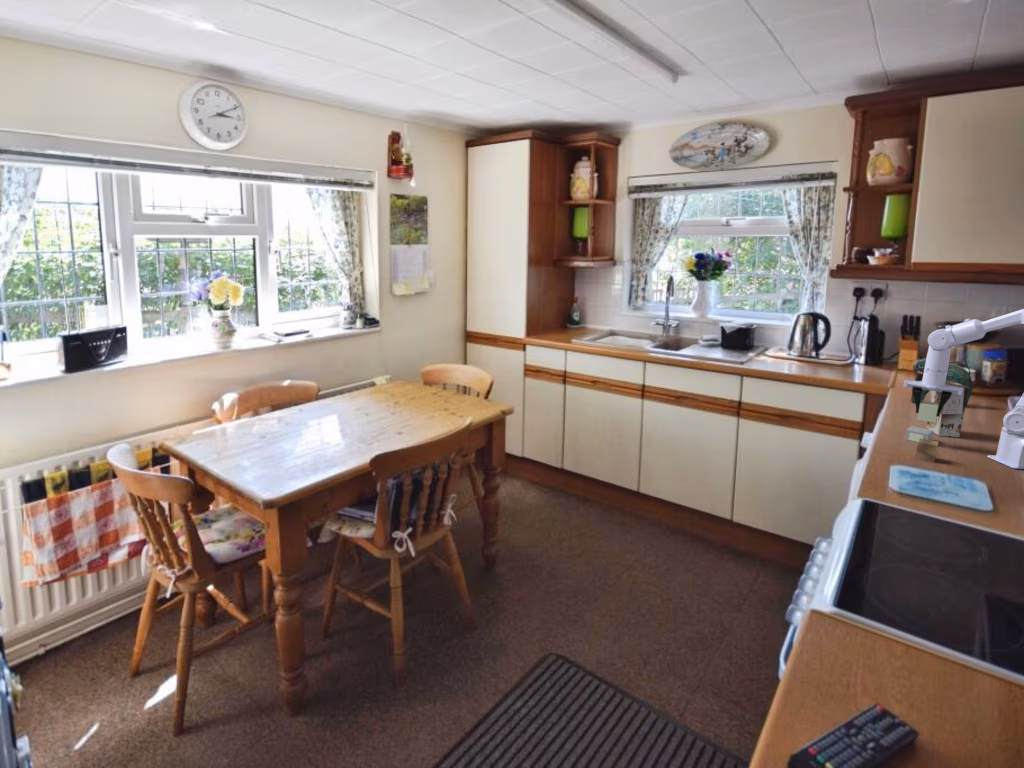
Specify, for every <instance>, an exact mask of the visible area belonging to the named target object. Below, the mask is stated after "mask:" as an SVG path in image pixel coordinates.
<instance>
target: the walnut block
mask: <svg viewBox="0 0 1024 768" xmlns="http://www.w3.org/2000/svg"><path fill="white" fill-rule="evenodd" d="M938 447H939V441H936V440H926V439H921V438H920V439H919V441H918V443H917V447H916V453H915V460H918V459H919V460H918V461H923V460H924V462H928V461H929V462H928V463H935V461H936V457H937V453H938Z"/></svg>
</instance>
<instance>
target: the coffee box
mask: <svg viewBox="0 0 1024 768" xmlns="http://www.w3.org/2000/svg"><path fill="white" fill-rule="evenodd" d="M945 385H950V386H955V387H962V388H963V390H962V395H957V394H953V393H952V394H951V397H950V398H949V400H948V401H947V402H946V403H945V405H944V406H943V408H942V410H941V412H940V415H939V417H938V416H937V417H936V421H935V423H934V422H928V421H926V422H927V423H926V429H929V430H933V434H935V435H937V436H939V437H949V436H951V437H950V438H952V437H953V438H960V436H961V431H962V430H961V429H962V425H963V420H964V416H965V410H966V407H965V406H966V401H967V396H968V391H969V387H967V386H964V385H962V384H960V383H958V382H954V381H945ZM939 390H940V389H939ZM941 393H942V392H938V391H932V393H931V401H930V402H934V403H939V402H940V397H941ZM938 407H939V406H938Z"/></svg>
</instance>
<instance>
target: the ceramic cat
mask: <svg viewBox="0 0 1024 768" xmlns="http://www.w3.org/2000/svg"><path fill="white" fill-rule="evenodd" d="M925 363H926V358H925V357H923V356H922V355H921V356H919V357H918V358H917V359H916V360H914V362H913V363H912V364H913V365H912V370H913V372H914V373H915V374H916V377H915V379H914V381H922V379H923V374H924V368H925ZM952 363H953V364H952ZM957 364H959V365H963V366H965V367H966V369H968V371H967V370H966V369H965V368H963V367H962V366H959V365H957ZM946 381H954V382H958V383H960V384H962V385H964V386H967V387H969V391H968V396H967V401H966V406H965V408H967V406H968V404H969V403H968V402H969V400H970V398H971V395H972V393H973V386H974V385H973V380H972V377H971V370H970V367H969V366H968V365H967V364H965V363H963V362H959V361H949V366H948V371H947V376H946ZM925 388H926V387H925ZM930 391H931V390H924V389H923V391H922V396H921V401H924V400H925V398H926V395H928V393H929V392H930ZM910 401H911V403H913V404H915V399H914V396H913V393H912V392H911V397H910ZM921 401H920V403H921Z"/></svg>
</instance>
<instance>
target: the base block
mask: <svg viewBox="0 0 1024 768" xmlns="http://www.w3.org/2000/svg"><path fill="white" fill-rule="evenodd" d="M933 434H934V432H933V430H929V429H927V428H922V427H918V426H914V425H910V426H909V427H908V428H906V429H905V432H904V438H903V440H904V439H905V440H904V441H907V440H910V441H909V442H911V441H915V442H914V443H916V442H918V441H919V439H920V438H921V439H926V440H932V439H933V436H934V435H933ZM932 441H933V440H932Z"/></svg>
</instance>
